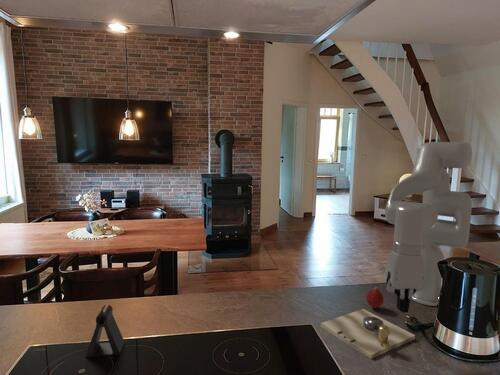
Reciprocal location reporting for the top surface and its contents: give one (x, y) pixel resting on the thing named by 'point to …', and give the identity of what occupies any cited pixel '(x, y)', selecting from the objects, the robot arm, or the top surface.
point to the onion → (374, 298)
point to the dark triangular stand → (112, 333)
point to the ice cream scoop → (377, 329)
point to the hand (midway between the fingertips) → (402, 310)
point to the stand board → (365, 333)
